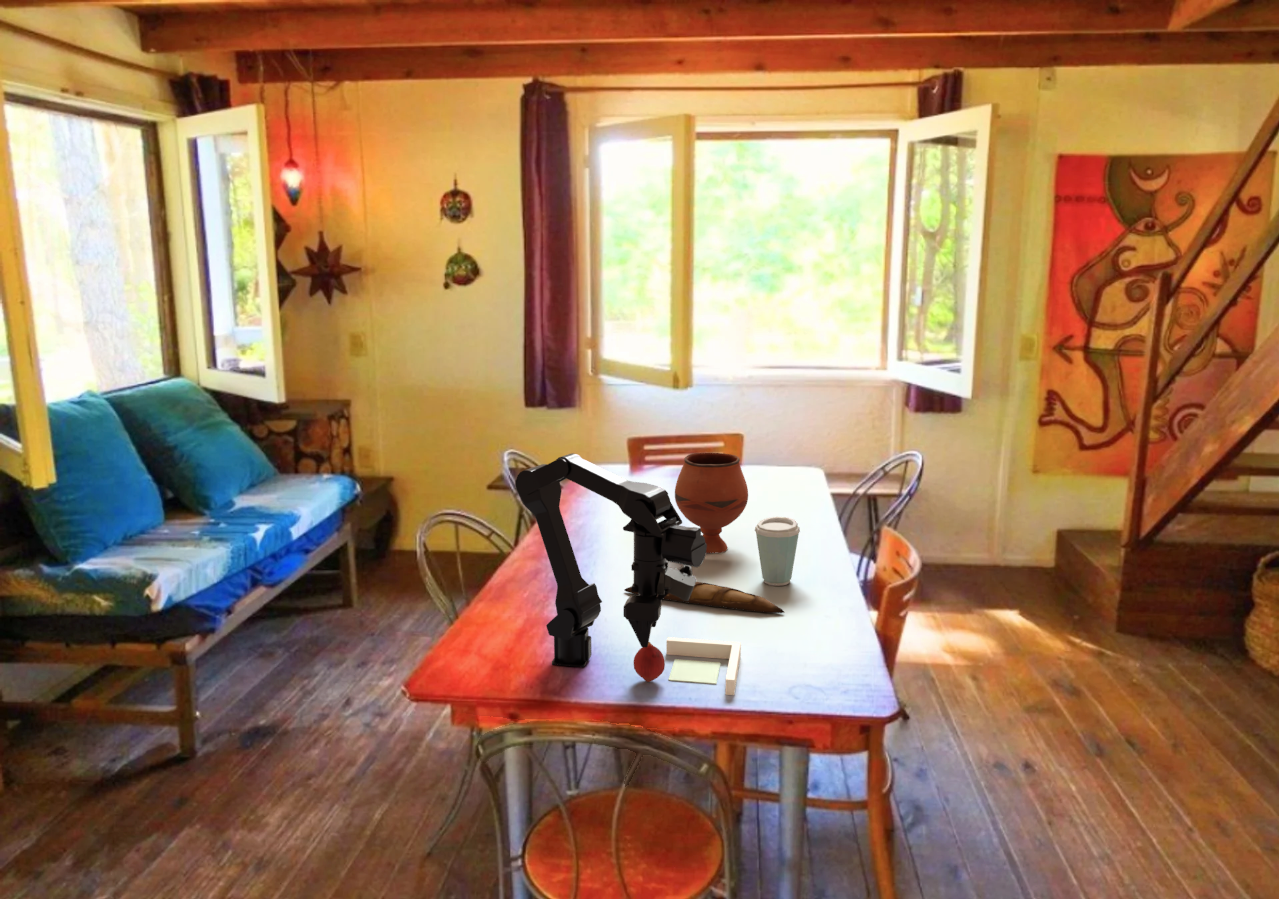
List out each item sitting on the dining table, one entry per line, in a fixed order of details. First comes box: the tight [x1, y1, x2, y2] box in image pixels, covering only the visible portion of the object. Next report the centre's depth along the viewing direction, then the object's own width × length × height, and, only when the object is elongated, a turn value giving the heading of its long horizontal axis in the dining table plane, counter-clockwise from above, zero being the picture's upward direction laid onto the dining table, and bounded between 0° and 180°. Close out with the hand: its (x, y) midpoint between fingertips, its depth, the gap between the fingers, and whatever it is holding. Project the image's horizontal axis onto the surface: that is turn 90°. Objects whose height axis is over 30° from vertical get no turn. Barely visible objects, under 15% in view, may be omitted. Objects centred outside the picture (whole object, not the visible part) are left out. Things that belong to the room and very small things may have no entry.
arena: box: [665, 636, 742, 696], centre depth 181 cm, size 15×17×3 cm
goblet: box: [674, 452, 749, 554], centre depth 251 cm, size 19×19×25 cm
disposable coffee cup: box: [754, 516, 801, 587], centre depth 228 cm, size 11×11×15 cm
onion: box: [633, 641, 666, 683], centre depth 177 cm, size 6×6×8 cm
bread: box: [623, 581, 785, 614], centre depth 215 cm, size 38×5×5 cm, turn 69°
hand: (648, 636), depth 176 cm, fingers open, 9 cm apart
